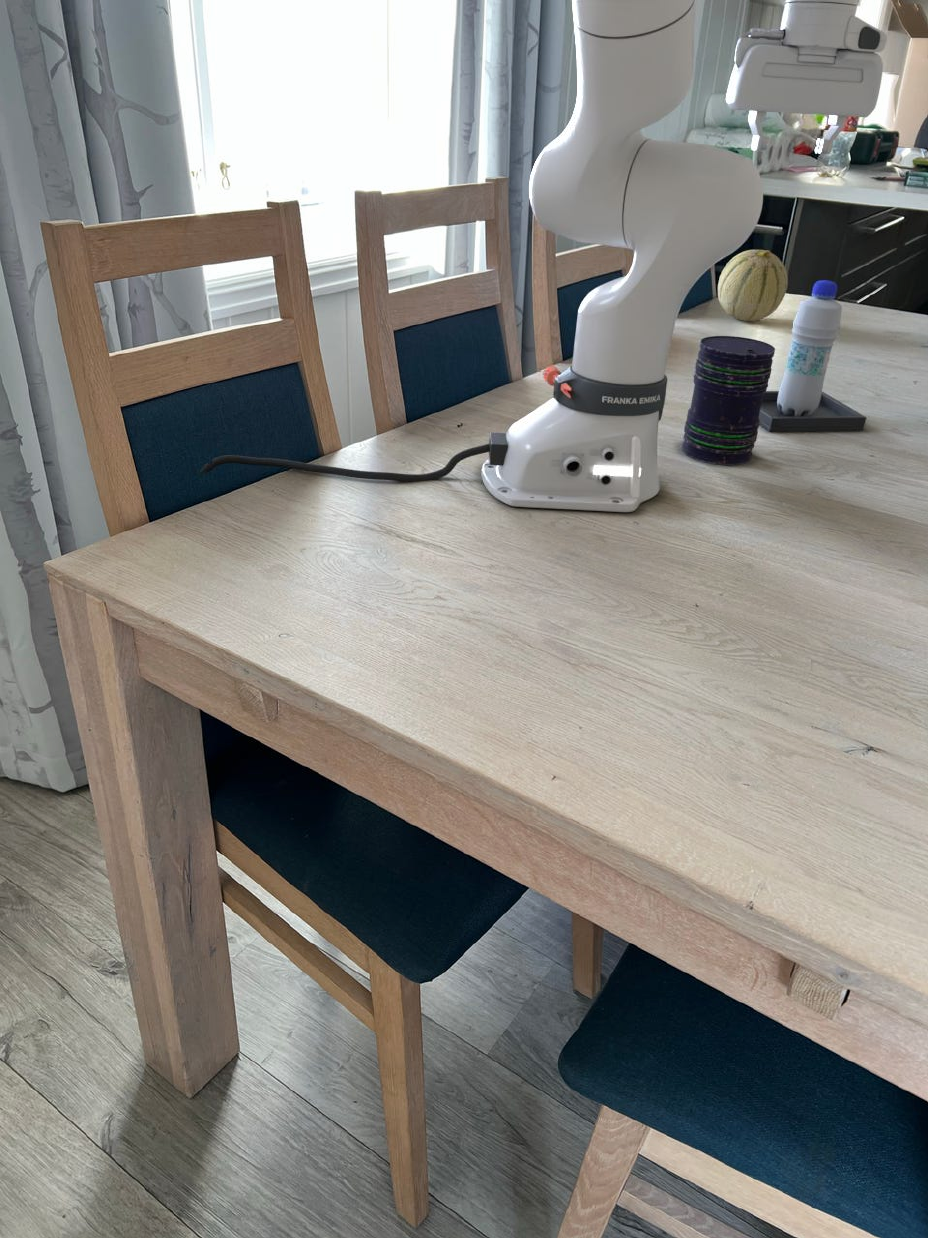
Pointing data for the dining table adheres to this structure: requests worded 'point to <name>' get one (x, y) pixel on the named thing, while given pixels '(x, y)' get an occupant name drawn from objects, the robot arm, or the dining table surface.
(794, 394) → the bottle
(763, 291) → the cantaloupe
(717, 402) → the navy striped cylinder
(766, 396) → the tray
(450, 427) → the dining table surface
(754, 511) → the dining table surface
